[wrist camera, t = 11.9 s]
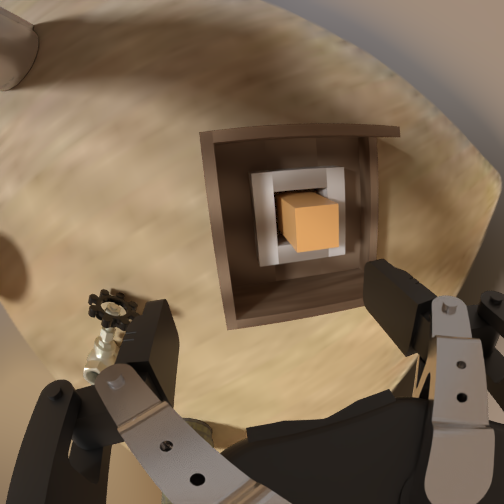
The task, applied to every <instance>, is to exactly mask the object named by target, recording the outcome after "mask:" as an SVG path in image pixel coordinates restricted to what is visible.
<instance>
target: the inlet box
mask: <svg viewBox="0 0 504 504" xmlns="http://www.w3.org/2000/svg"><path fill="white" fill-rule="evenodd" d="M199 134H200V143H201V152H202V160H203V169H204V177H205V185H206V193H207V201H208V208H209V215H210V223H211V230H212V237H213V244H214V251H215V257H216V264H217V270H218V277H219V283H220V289H221V295H222V301H223V307H224V313H225V319H226V325H227V330H232V329H240V328H247V327H254V326H260V325H267V324H273V323H279V322H285V321H291V320H297V319H302V318H308V317H313V316H318V315H323V314H328V313H333V312H338V311H343V310H348V309H352V308H357V307H361V306H365V305H364V301H363V283H364V266H365V264H366V262H370V261H374V260H376V255H377V236H378V157H377V139H376V137H400V128H399V127H397V126H384V125H366V124H285V125H267V126H253V127H242V128H231V129H222V130H214V131H206V132H199ZM312 188H316V194H318V195H320V196H323V197H325V198H327V199H329V200H331V201H333V202H336V203H338V205H339V247H335V248H328V249H321V250H313V251H306V252H299V253H297V252H296V251H295V249H294V248H293V247H292V245H291V244H290V243H289V242H288V240H287V239H286V238H285V236H284V235H278V236H277V230H276V217H275V204H274V192H279V191H289V190H300V189H312Z"/></svg>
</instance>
